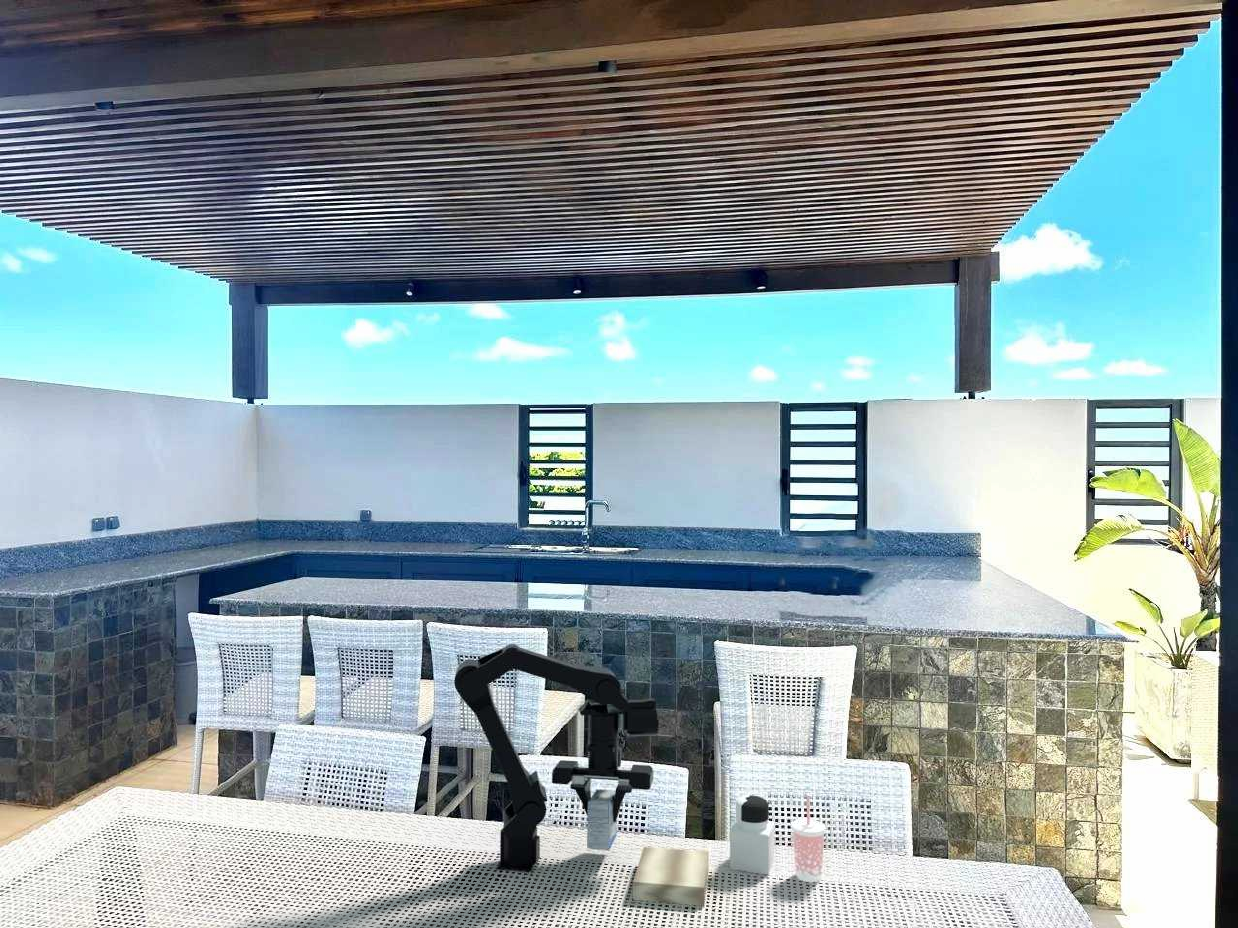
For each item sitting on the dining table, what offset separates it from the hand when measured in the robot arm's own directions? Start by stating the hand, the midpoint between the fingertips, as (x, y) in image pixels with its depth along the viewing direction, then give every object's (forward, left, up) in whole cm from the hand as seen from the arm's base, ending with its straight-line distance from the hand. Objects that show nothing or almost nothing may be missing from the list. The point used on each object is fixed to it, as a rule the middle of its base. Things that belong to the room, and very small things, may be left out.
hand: (602, 820), depth 151 cm
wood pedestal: (+14, -8, -7) cm, 18 cm away
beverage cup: (+38, -1, -7) cm, 39 cm away
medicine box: (0, 0, -4) cm, 4 cm away
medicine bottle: (+28, +2, -7) cm, 29 cm away
